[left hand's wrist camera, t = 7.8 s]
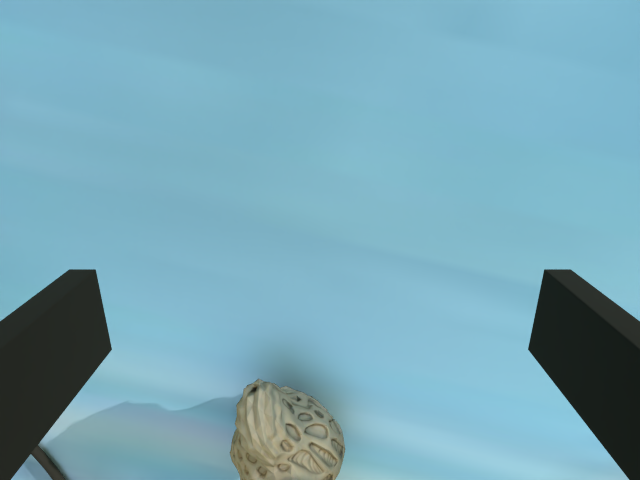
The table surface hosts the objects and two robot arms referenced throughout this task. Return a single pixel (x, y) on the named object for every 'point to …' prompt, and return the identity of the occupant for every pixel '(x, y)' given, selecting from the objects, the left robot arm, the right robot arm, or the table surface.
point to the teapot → (285, 436)
